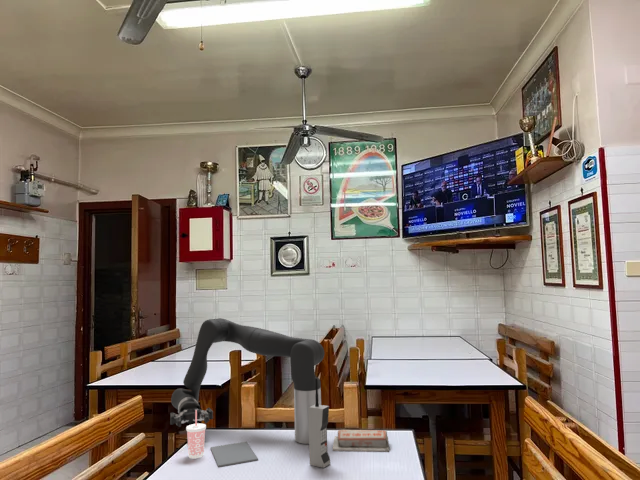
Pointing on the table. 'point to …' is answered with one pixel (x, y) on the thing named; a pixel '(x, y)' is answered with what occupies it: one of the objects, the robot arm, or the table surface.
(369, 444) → the packaged product
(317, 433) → the vintage mobile phone
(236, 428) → the table surface
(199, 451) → the beverage cup
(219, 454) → the mat
